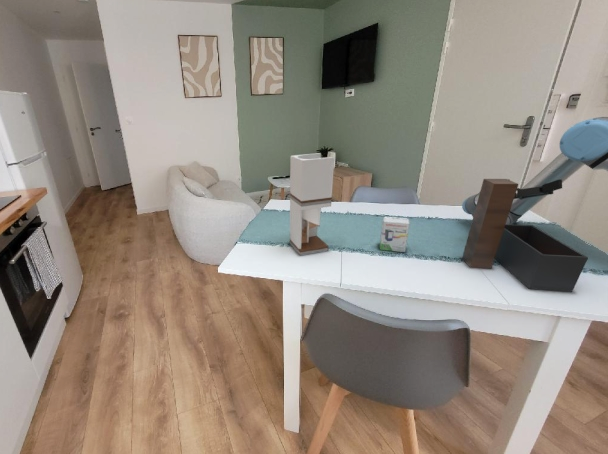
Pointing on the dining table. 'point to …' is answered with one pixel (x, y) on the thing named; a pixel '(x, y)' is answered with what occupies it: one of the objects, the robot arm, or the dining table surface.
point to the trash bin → (539, 259)
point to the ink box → (394, 234)
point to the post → (489, 222)
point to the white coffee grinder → (309, 200)
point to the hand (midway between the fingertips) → (534, 183)
